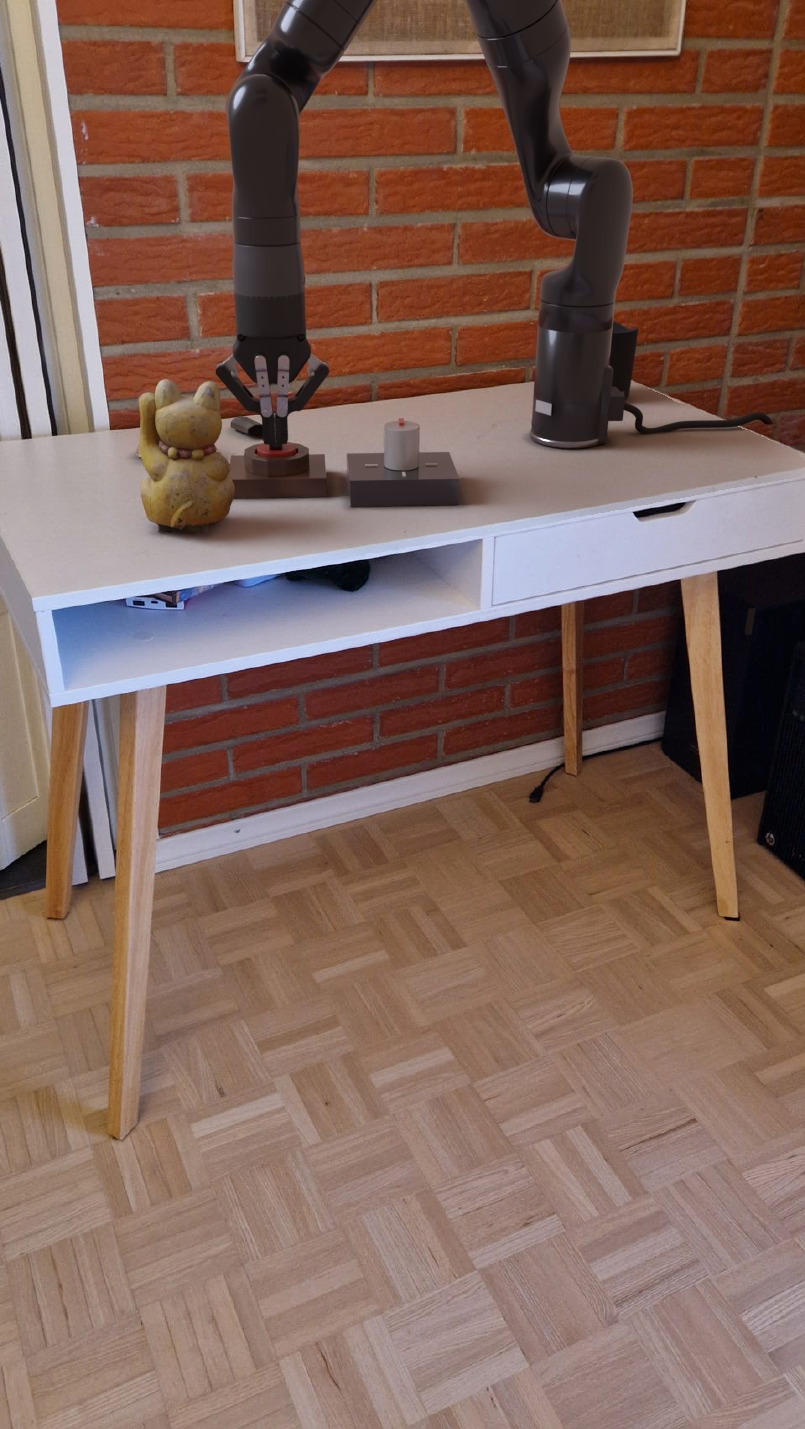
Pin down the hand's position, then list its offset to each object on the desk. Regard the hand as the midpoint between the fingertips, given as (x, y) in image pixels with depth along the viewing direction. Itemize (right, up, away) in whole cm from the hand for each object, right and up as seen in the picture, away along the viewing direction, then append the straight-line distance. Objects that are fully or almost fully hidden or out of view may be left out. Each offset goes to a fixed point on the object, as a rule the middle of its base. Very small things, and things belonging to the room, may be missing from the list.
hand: (276, 447), depth 134 cm
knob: (+14, -2, -1) cm, 14 cm away
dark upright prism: (+43, +16, +38) cm, 60 cm away
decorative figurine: (-8, -11, -10) cm, 17 cm away
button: (0, -1, +1) cm, 2 cm away
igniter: (0, -4, +2) cm, 4 cm away
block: (-6, +6, +21) cm, 23 cm away
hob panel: (+14, -5, +1) cm, 15 cm away
